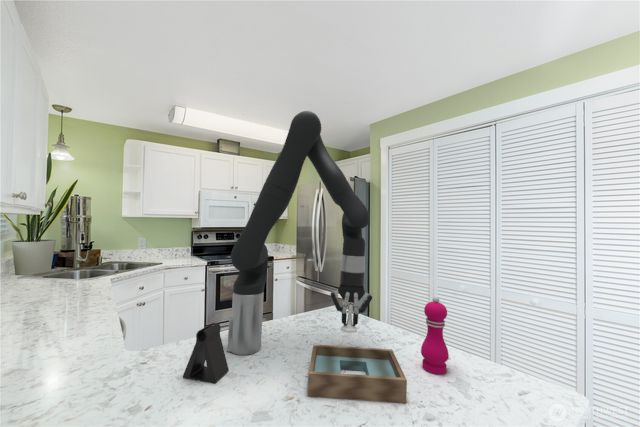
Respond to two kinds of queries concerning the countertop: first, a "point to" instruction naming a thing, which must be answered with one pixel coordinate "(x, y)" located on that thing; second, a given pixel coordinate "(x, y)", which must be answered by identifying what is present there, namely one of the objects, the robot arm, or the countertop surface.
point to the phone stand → (207, 356)
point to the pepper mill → (435, 338)
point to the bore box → (376, 385)
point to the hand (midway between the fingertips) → (349, 324)
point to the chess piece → (349, 321)
